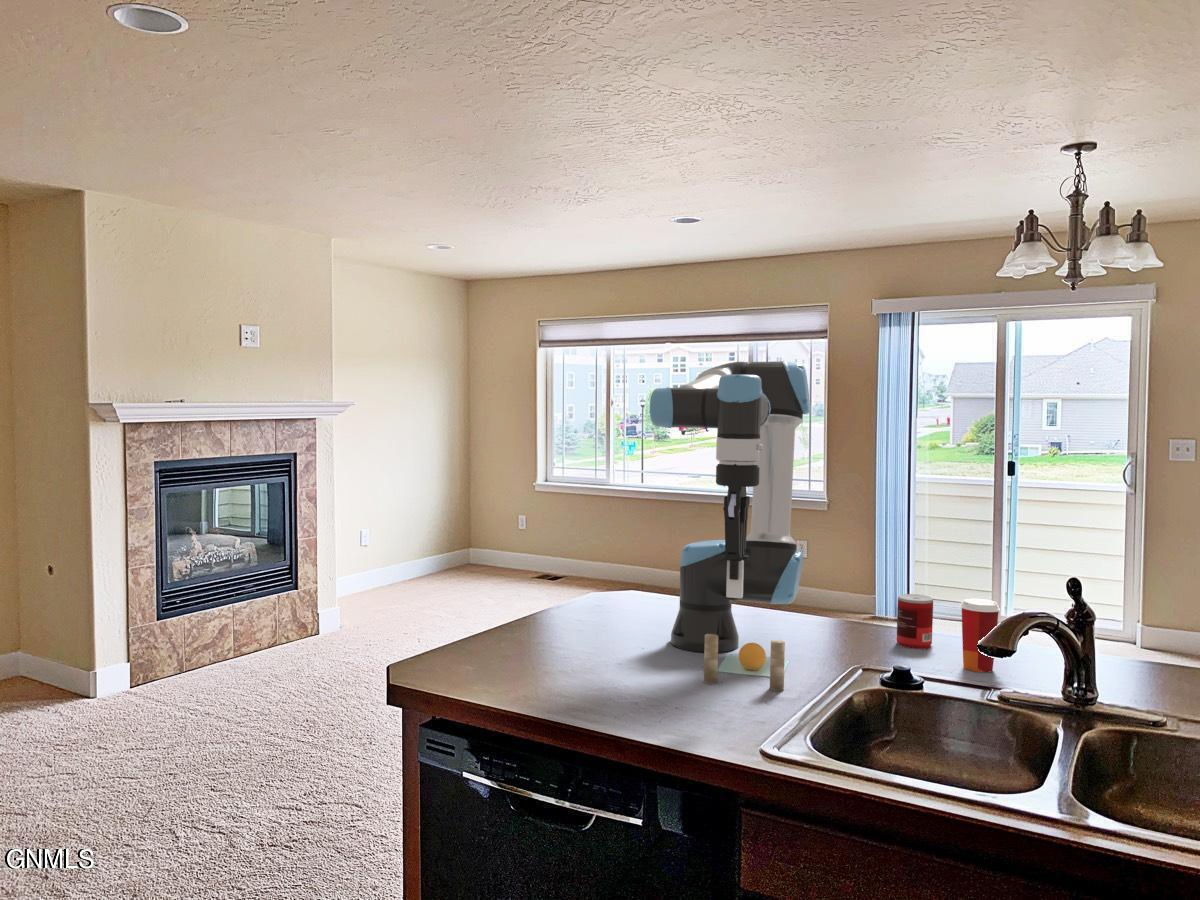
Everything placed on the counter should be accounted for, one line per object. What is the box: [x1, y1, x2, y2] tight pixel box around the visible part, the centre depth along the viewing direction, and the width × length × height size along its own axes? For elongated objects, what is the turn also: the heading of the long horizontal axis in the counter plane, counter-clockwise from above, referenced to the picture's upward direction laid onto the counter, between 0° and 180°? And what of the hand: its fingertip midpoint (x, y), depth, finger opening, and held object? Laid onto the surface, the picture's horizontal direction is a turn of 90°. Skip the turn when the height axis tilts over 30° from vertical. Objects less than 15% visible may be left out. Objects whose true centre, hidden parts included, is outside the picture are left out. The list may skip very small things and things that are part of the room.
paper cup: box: [958, 598, 1001, 673], centre depth 183 cm, size 8×8×14 cm
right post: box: [769, 639, 786, 692], centre depth 167 cm, size 3×3×9 cm
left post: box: [703, 634, 719, 685], centre depth 170 cm, size 3×3×9 cm
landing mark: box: [717, 654, 790, 678], centre depth 182 cm, size 13×13×1 cm
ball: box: [738, 642, 767, 670], centre depth 179 cm, size 6×6×6 cm
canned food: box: [896, 593, 934, 650], centre depth 202 cm, size 8×8×11 cm
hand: (734, 596), depth 156 cm, fingers closed
